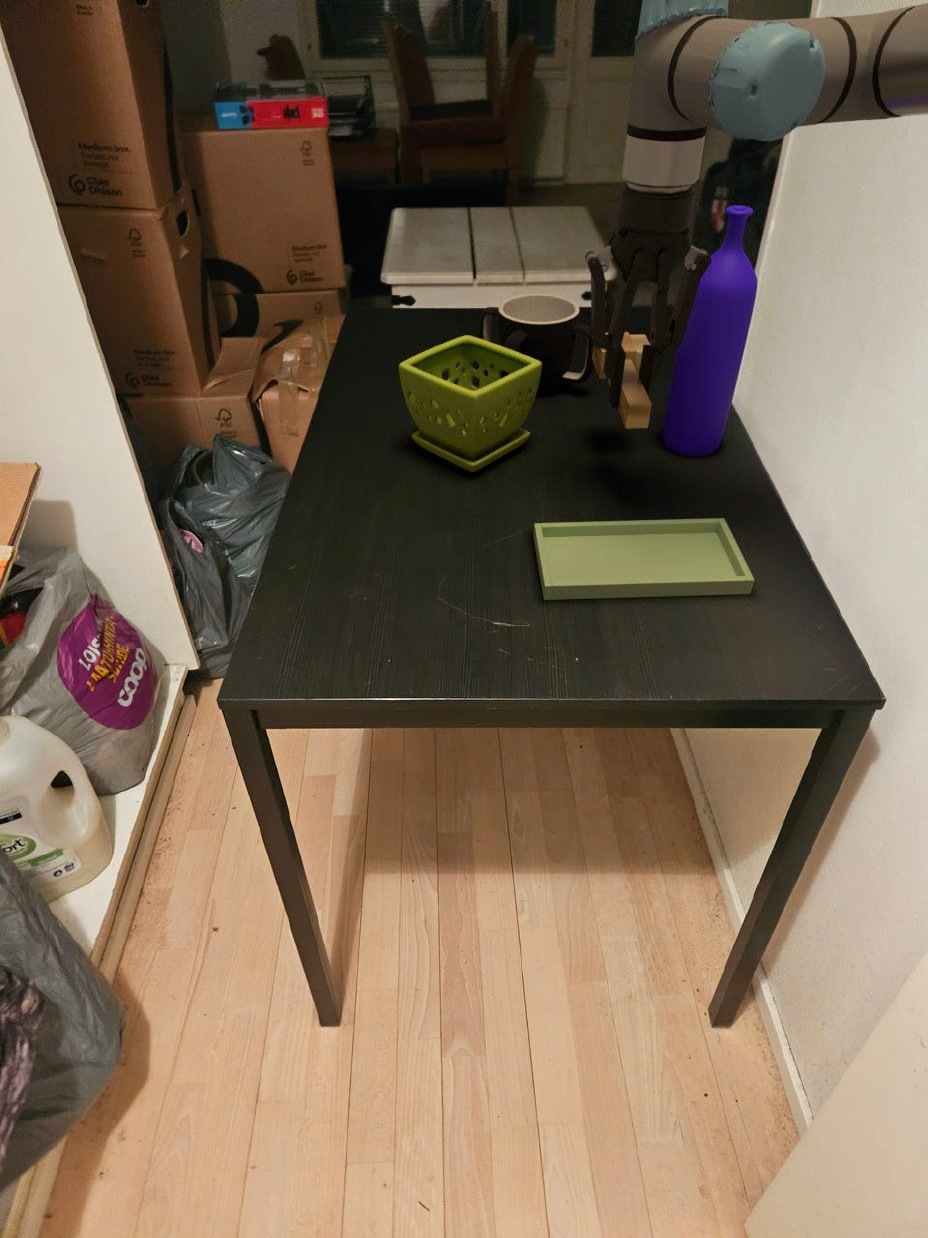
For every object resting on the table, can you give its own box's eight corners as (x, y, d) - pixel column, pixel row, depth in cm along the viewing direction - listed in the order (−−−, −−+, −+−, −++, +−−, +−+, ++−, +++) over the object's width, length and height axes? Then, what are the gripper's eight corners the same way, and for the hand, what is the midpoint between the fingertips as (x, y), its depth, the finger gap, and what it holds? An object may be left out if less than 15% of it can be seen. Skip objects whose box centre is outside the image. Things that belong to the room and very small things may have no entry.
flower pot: (473, 486, 100) (473, 395, 91) (400, 450, 107) (393, 363, 98) (541, 446, 107) (546, 358, 99) (468, 415, 114) (467, 330, 106)
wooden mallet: (674, 427, 88) (680, 398, 86) (617, 428, 88) (621, 399, 85) (641, 357, 102) (645, 331, 100) (592, 359, 102) (594, 332, 99)
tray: (720, 531, 92) (724, 517, 90) (750, 594, 83) (755, 580, 82) (533, 536, 91) (534, 523, 90) (543, 600, 83) (544, 586, 81)
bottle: (695, 423, 112) (743, 195, 91) (733, 449, 106) (793, 212, 86) (648, 436, 109) (687, 204, 89) (685, 463, 103) (736, 222, 83)
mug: (597, 402, 117) (606, 324, 109) (494, 411, 115) (496, 332, 107) (570, 358, 129) (576, 284, 121) (476, 365, 127) (476, 291, 119)
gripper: (725, 172, 79) (684, 386, 95) (575, 175, 79) (558, 389, 95) (747, 191, 74) (699, 415, 89) (586, 194, 73) (566, 418, 89)
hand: (627, 401), depth 92 cm, fingers closed on wooden mallet, 3 cm apart
